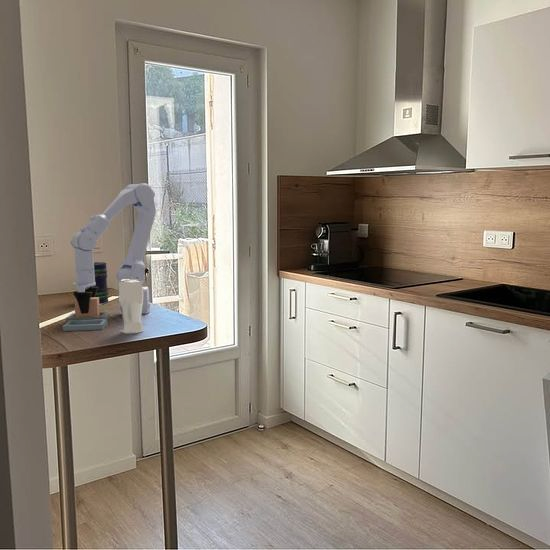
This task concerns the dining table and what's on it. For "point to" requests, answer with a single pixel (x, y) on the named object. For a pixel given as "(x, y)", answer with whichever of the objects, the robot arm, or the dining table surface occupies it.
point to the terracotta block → (93, 308)
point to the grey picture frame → (85, 325)
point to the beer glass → (131, 305)
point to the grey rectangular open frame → (72, 317)
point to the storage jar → (101, 281)
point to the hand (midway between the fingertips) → (87, 311)
